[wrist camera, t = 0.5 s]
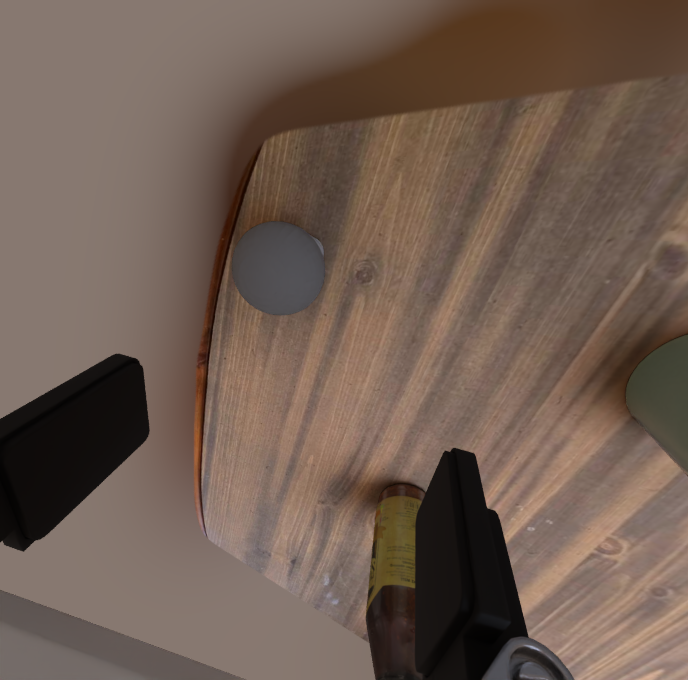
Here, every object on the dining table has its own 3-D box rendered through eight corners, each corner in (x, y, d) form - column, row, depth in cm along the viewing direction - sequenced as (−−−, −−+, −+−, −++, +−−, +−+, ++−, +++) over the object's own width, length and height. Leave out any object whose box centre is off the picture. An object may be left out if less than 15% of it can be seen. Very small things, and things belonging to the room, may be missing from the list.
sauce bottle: (369, 485, 38) (328, 746, 21) (422, 476, 36) (427, 756, 18) (391, 525, 40) (371, 792, 23) (442, 517, 38) (464, 806, 20)
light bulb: (354, 226, 27) (322, 249, 18) (333, 294, 29) (296, 343, 21) (284, 202, 27) (219, 211, 18) (270, 271, 30) (207, 309, 21)
